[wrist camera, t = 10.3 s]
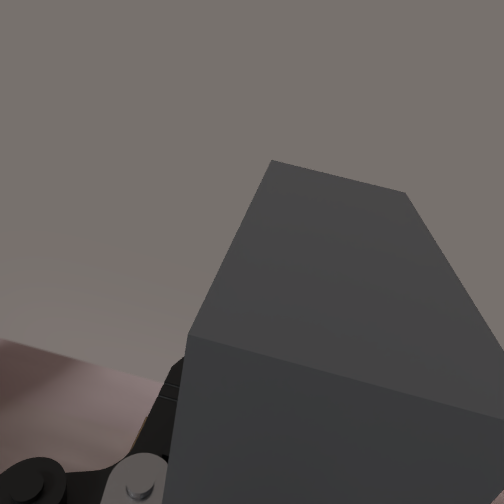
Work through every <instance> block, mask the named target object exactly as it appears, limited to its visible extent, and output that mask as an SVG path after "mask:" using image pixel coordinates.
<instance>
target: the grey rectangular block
mask: <svg viewBox="0 0 504 504" xmlns="http://www.w3.org/2000/svg"><path fill="white" fill-rule="evenodd" d="M503 489H504V351H503V349H502V348H501V346H500V345H499V343H498V341H497V340H496V338H495V336H494V335H493V333H492V332H491V330H490V328H489V327H488V325H487V324H486V322H485V321H484V319H483V317H482V316H481V314H480V312H479V311H478V309H477V307H476V306H475V304H474V303H473V301H472V299H471V298H470V296H469V295H468V293H467V291H466V290H465V288H464V287H463V285H462V283H461V282H460V280H459V279H458V277H457V276H456V274H455V272H454V270H453V269H452V267H451V266H450V264H449V263H448V261H447V259H446V258H445V256H444V254H443V253H442V251H441V249H440V248H439V246H438V245H437V243H436V241H435V240H434V238H433V237H432V235H431V233H430V232H429V230H428V229H427V227H426V225H425V224H424V222H423V221H422V219H421V217H420V216H419V214H418V213H417V211H416V209H415V208H414V206H413V204H412V203H411V201H410V200H409V198H408V196H407V195H406V193H404V192H400V191H396V190H392V189H388V188H384V187H380V186H376V185H371V184H367V183H363V182H359V181H355V180H351V179H347V178H343V177H339V176H335V175H330V174H327V173H323V172H318V171H314V170H310V169H306V168H302V167H298V166H294V165H290V164H285V163H281V162H278V161H274V160H271V162H270V164H269V167H268V169H267V171H266V173H265V175H264V177H263V179H262V182H261V183H260V185H259V188H258V189H257V192H256V194H255V196H254V198H253V200H252V202H251V204H250V206H249V208H248V210H247V212H246V215H245V217H244V219H243V221H242V223H241V225H240V227H239V229H238V231H237V233H236V235H235V237H234V239H233V241H232V244H231V246H230V248H229V250H228V252H227V254H226V256H225V258H224V260H223V262H222V264H221V266H220V269H219V271H218V273H217V275H216V277H215V279H214V281H213V283H212V285H211V287H210V289H209V292H208V294H207V296H206V298H205V300H204V302H203V304H202V306H201V308H200V310H199V312H198V315H197V316H196V319H195V321H194V323H193V325H192V327H191V329H190V331H189V333H188V338H187V344H186V350H185V356H184V363H183V369H182V376H181V382H180V389H179V395H178V402H177V408H176V415H175V421H174V428H173V434H172V441H171V447H170V454H169V460H168V466H167V473H166V479H165V486H164V492H163V499H162V504H491V502H492V501H493V500H494V499H495V498H496V497H497V496H498V495H499V494H500V493H501V492H502V491H503Z"/></svg>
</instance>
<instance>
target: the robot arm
mask: <svg viewBox="0 0 504 504" xmlns="http://www.w3.org/2000/svg"><path fill="white" fill-rule="evenodd" d="M183 363H184V357H183V358H182V359H181V360H179V361H178V362H177V363H176V364H175V365H173V366H172V367H171V370H170V372H169V374H168V376H167V378H166V380H165V382H164V385H163V386H162V388H161V390H160V392H159V395H158V397H157V399H156V401H155V403H154V405H153V407H152V409H151V411H150V413H149V415H148V417H147V419H146V421H145V424H144V426H143V428H142V430H141V432H140V434H139V436H138V438H137V440H136V442H135V444H134V446H133V448H132V449H131V451H130V452H129V453H128V454H127V455H126V456H125V457H124V458H123V459H122V460H121V461H119V462H118V463H116V464H115V465H113V466H111V467H108V468H106V469H102V470H97V471H86V472H71V473H65V471H64V469H63V468H62V466H61V465H60V464H59V463H58V462H56V461H55V460H52V459H50V458H45V457H36V458H30V459H26V460H23V461H21V462H19V463H17V464H15V465H13V466H11V467H10V468H8V469H7V470H6V471H4V472H3V473H2V474H0V504H162V499H163V492H164V486H165V479H166V473H167V466H168V460H169V454H170V447H171V441H172V434H173V428H174V421H175V415H176V408H177V402H178V395H179V389H180V382H181V376H182V369H183Z"/></svg>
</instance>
